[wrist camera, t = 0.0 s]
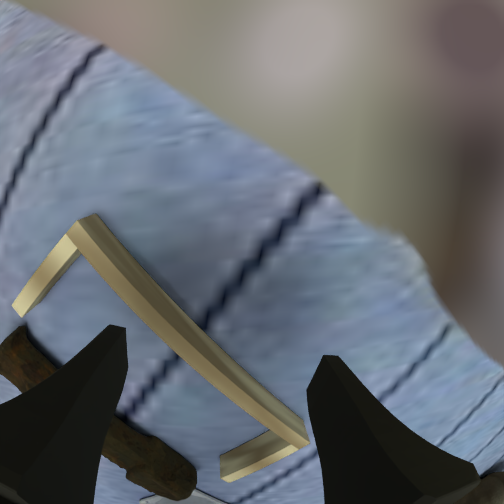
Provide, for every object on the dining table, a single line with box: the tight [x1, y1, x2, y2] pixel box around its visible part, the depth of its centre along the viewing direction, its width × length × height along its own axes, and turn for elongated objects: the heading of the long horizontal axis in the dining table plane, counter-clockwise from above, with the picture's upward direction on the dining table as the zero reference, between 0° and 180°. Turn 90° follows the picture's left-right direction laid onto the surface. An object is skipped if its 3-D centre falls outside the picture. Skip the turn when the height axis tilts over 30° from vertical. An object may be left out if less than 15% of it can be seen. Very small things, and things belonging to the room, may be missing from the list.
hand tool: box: [0, 326, 197, 501], centre depth 21 cm, size 23×5×6 cm, turn 41°
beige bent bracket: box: [12, 214, 310, 483], centre depth 21 cm, size 9×24×3 cm, turn 39°
